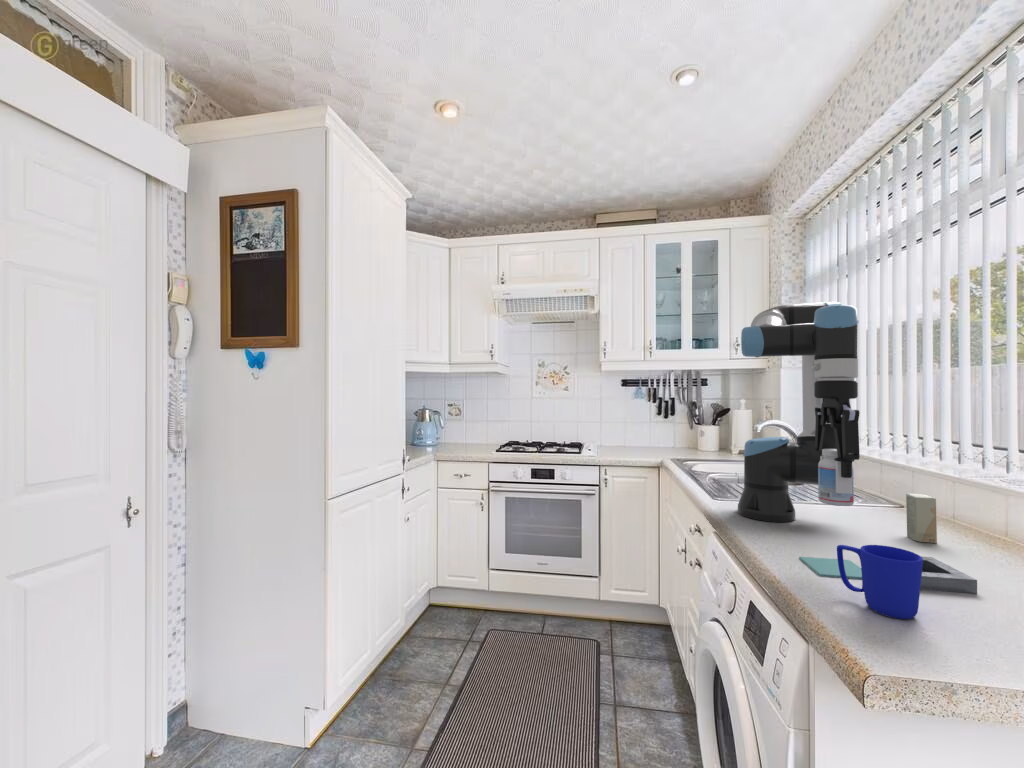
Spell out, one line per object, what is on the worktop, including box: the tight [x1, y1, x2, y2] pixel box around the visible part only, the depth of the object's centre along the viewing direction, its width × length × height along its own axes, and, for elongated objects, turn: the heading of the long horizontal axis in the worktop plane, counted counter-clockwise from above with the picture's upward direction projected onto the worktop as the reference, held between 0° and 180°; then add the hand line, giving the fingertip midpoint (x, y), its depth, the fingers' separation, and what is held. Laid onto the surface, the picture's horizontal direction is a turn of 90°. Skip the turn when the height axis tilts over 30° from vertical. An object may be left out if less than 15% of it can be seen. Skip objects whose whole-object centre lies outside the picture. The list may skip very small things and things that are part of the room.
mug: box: [836, 544, 923, 620], centre depth 80 cm, size 8×12×10 cm
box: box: [905, 492, 938, 544], centre depth 117 cm, size 5×4×11 cm
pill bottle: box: [817, 449, 855, 507], centre depth 98 cm, size 6×6×11 cm
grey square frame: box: [920, 555, 978, 595], centre depth 93 cm, size 12×12×2 cm
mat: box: [798, 556, 862, 580], centre depth 97 cm, size 10×10×1 cm
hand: (835, 489), depth 98 cm, fingers closed on pill bottle, 6 cm apart
